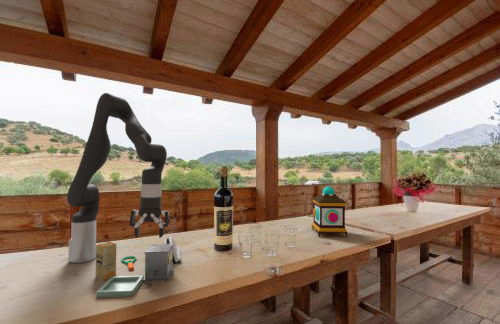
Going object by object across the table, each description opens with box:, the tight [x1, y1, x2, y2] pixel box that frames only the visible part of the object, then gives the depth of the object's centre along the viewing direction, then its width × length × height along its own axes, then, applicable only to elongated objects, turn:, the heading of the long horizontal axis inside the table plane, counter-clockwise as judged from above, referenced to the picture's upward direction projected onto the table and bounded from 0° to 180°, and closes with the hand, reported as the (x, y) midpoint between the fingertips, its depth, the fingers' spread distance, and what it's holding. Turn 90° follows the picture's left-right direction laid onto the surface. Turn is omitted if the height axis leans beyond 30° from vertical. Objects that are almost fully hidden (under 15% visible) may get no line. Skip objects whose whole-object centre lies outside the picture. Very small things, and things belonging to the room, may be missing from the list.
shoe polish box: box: [94, 241, 117, 281], centre depth 92 cm, size 5×5×12 cm
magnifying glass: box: [120, 255, 137, 272], centre depth 104 cm, size 15×6×2 cm, turn 31°
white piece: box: [163, 236, 183, 265], centre depth 112 cm, size 17×5×10 cm, turn 18°
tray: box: [95, 274, 145, 299], centre depth 83 cm, size 11×11×2 cm
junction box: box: [142, 243, 175, 283], centre depth 93 cm, size 9×10×11 cm
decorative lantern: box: [311, 185, 348, 238], centre depth 154 cm, size 20×20×30 cm
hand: (149, 237), depth 94 cm, fingers open, 8 cm apart
